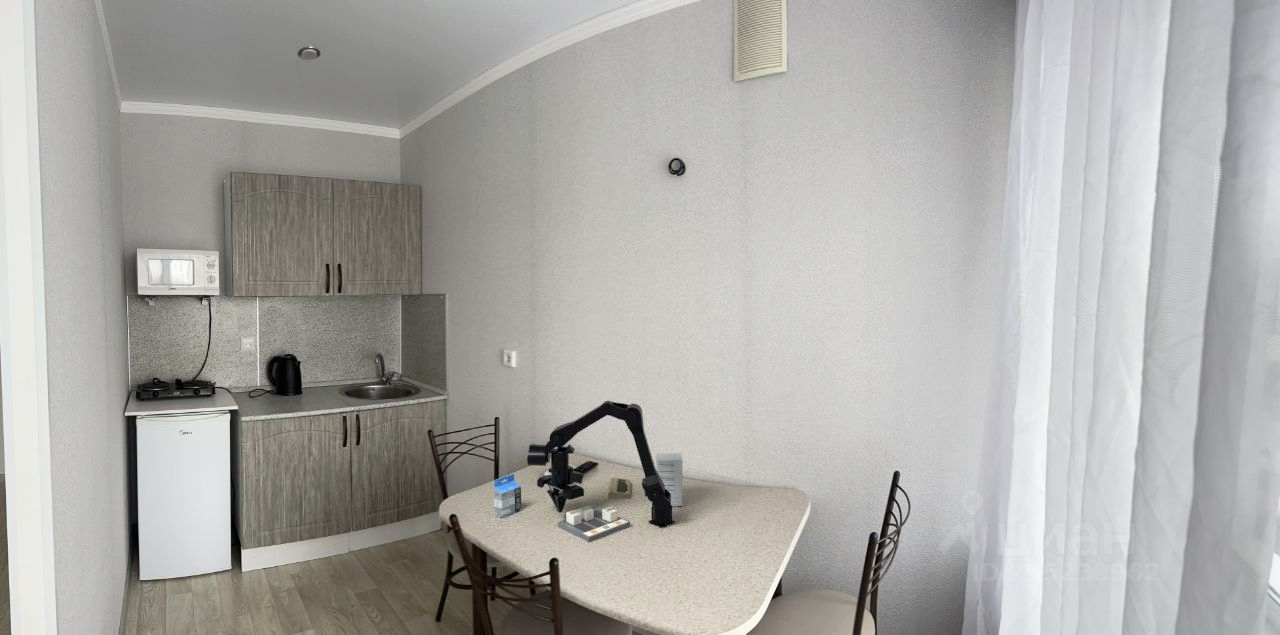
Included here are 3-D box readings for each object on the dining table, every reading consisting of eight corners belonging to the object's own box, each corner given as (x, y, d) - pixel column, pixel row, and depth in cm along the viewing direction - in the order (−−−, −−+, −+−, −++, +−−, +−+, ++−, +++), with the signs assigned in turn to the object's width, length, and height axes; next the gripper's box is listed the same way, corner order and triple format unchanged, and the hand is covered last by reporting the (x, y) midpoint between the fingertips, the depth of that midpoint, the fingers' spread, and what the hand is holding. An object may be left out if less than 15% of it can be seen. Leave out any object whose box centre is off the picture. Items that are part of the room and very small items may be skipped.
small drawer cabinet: (682, 507, 206) (683, 460, 205) (656, 507, 206) (656, 460, 205) (681, 497, 215) (681, 452, 214) (656, 497, 215) (656, 452, 214)
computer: (630, 499, 214) (630, 490, 214) (608, 499, 214) (608, 490, 214) (630, 485, 230) (630, 477, 230) (609, 485, 230) (609, 477, 230)
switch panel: (630, 526, 189) (630, 521, 189) (588, 542, 177) (588, 536, 177) (598, 512, 201) (598, 507, 201) (557, 526, 189) (557, 521, 189)
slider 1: (581, 522, 188) (581, 511, 188) (574, 525, 186) (573, 513, 186) (573, 519, 191) (573, 507, 191) (566, 521, 189) (566, 510, 189)
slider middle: (593, 518, 192) (593, 507, 191) (586, 521, 189) (586, 509, 189) (586, 515, 194) (585, 503, 194) (578, 517, 192) (578, 506, 192)
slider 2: (617, 519, 191) (617, 508, 190) (610, 522, 189) (610, 510, 188) (609, 516, 194) (609, 504, 193) (602, 518, 191) (602, 507, 191)
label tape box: (501, 518, 196) (501, 482, 195) (493, 515, 198) (493, 479, 197) (522, 510, 203) (521, 475, 202) (514, 507, 205) (513, 473, 204)
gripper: (597, 466, 192) (597, 513, 193) (562, 454, 205) (563, 498, 206) (569, 474, 184) (569, 523, 185) (536, 461, 198) (536, 507, 198)
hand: (560, 512), depth 194 cm, fingers closed
